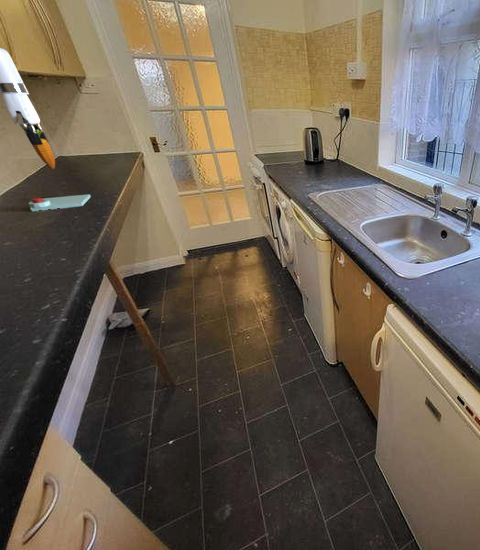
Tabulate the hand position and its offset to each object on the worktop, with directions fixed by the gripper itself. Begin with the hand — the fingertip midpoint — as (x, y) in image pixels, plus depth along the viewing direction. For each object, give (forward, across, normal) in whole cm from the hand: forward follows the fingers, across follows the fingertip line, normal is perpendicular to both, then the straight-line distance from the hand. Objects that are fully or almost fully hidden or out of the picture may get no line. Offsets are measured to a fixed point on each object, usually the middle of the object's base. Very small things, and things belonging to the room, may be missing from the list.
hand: (40, 143), depth 116 cm
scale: (+24, +2, -2) cm, 24 cm away
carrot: (+10, 0, 0) cm, 10 cm away
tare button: (+21, +7, -7) cm, 23 cm away
